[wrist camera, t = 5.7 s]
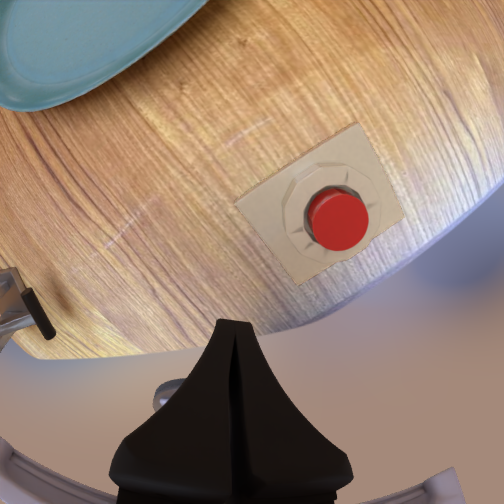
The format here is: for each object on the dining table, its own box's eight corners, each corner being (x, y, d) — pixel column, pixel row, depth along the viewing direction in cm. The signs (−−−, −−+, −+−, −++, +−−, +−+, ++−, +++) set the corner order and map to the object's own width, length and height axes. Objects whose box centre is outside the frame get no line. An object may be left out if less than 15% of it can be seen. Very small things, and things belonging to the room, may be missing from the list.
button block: (295, 280, 22) (301, 299, 19) (234, 200, 19) (232, 211, 16) (399, 213, 19) (416, 224, 17) (354, 121, 16) (369, 122, 14)
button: (324, 250, 18) (330, 261, 17) (296, 208, 17) (301, 216, 15) (368, 222, 17) (377, 231, 16) (344, 177, 16) (353, 182, 14)
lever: (34, 283, 19) (28, 295, 17) (57, 326, 21) (54, 341, 19) (-39, 315, 14) (-47, 327, 12) (-17, 351, 17) (-22, 365, 15)
